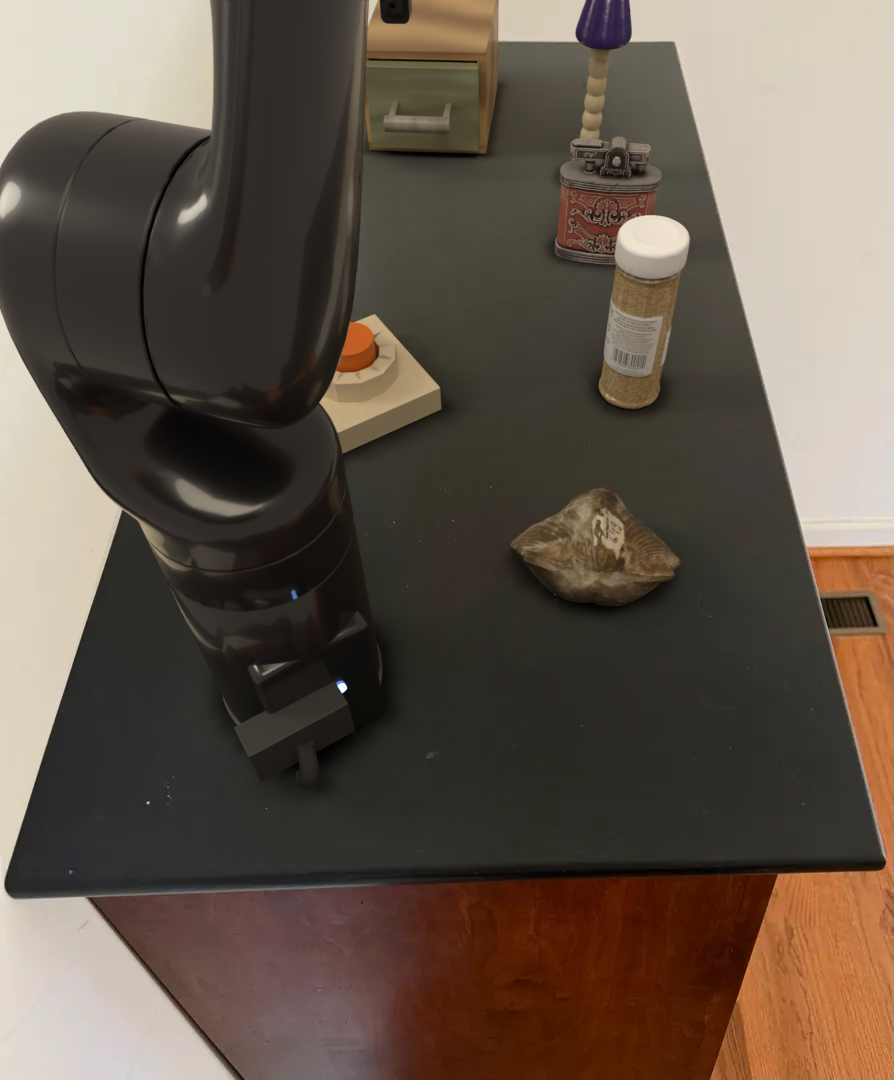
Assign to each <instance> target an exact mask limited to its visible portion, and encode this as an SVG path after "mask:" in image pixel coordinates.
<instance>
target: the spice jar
mask: <svg viewBox="0 0 894 1080" xmlns="http://www.w3.org/2000/svg"><path fill="white" fill-rule="evenodd" d="M690 241H691V238H690V234H689V231H688V229H687V228H686V227H685V226H684V225H683V224H682V223H680V221H679V222H678V221H677V220H675V219H673V218H671V217H668V216H663V215H654V214H653V215H646V216H639V217H636V218H633V219H631V220H629V221H627V222H626V223H624V224H623V225H622V226H621V228H620V230H619V232H618V235H617V242H616V249H615V263H616V264H615V270H614V277H613V286H612V291H611V295H610V300H609V301H610V302H609V310H608V318H607V323H606V333H605V338H604V347H603V348H604V349H603V361H602V362H603V363H602V370H601V376H600V378H599V383H598V390H599V393H600V394H601V396H602V398H604V400H605V401H606V402H607V403H609V404H611V405H612V406H615V407H619V408H622V409H629V410H638V409H642V408H645V407H647V406H650V405H651V404H653V403H654V402H655V401H656V400H657V398H658V396H659V394H660V391H661V377H662V373H663V367H664V363H665V361H666V359H667V358H666V357H667V353H668V348H669V342H670V337H671V331H672V322H673V316H674V311H675V307H676V302H677V301H676V300H677V295H678V292H679V285H680V280H681V273H682V271H683V269H684V268H685V266H686V264H687V259H688V254H689V248H690V243H691V242H690Z"/></svg>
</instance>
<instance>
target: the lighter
mask: <svg viewBox="0 0 894 1080" xmlns="http://www.w3.org/2000/svg"><path fill="white" fill-rule="evenodd" d="M569 153H570V154H569V158H570V159H573V160H577V161H569V160H568V161H566V162H564V163H563V164H562V165H561V166H560V168H559V181H560V182H561V183H560V197H559V200H560V201H559V209H558V210H559V213H558V226H557V236H556V238H555V241H554V252H555V254H556V255H557V256H558V257H559V258H561V259H566V260H571V261H575V262H581V263H588V264H598V265H616V263H615V249H616V242H617V235H618V232H619V230H620V228H621V226H622V225H623V224H624V223H626V222H627V221H629V220H631V219H633V218H636V217H639V216H646V215H654V213H655V206H656V200H657V194H658V189H659V188H660V186H661V183H662V177H663V173H662V171H661V170H660V169H659V168H658V167H656V166H654V165H650V164H648V163H649V160H650V153H651V146H650V145H649V144H648V143H647V144H645V143H633V142H631V143H630V142H629V141H628V139H627V138H626V137H624V136H614V137H612V139H611V140H610V141H603V139H598V140H593V139H580V138H574V140H573V141H571V143H570V151H569Z"/></svg>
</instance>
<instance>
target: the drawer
mask: <svg viewBox="0 0 894 1080" xmlns="http://www.w3.org/2000/svg"><path fill="white" fill-rule="evenodd" d="M366 91H367V100H368V110H369V120H370V129H371V139H372V147H373V148H393V149H425V150H456V151H479V146H480V108H479V63H477V61H459V60H413V59H377V61H368V60H367V61H366Z"/></svg>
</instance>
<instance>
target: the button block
mask: <svg viewBox="0 0 894 1080" xmlns="http://www.w3.org/2000/svg"><path fill="white" fill-rule="evenodd" d="M355 322H356V323H360V324H363V325H365V326H367V327H368V328H370V329H371V331H372V332H373V335H374V343H375V351H376V358H375V361H374V363H373V364H372V365H371V366H370V367H368V368H365V369H363V370H360V371H358V372H346V373H341V372H338V371H336V373H335V375H334V378H333V380H332V382H331V385H330V387H329V389H328V391H327V392H326V394H325V395H324V397H323V398H322V400H321V401H320V402H319V403H320V404H321V405H322V406H323V407H324V409H325V410H326V411H327V413H328V414H329V416H330V418H331V419H332V421H333V423H334V425H335V428H336V430H337V433H338V436H339V440H340V444H341V448H342V453H343V454H346V453H347V452H349V451H352V450H354V449H356V448H358V447H361V446H363V445H365V444H367V443H370V442H373V441H374V440H376V439H379V438H381V437H383V436H385V435H387V434H390V433H392V432H394V431H397V430H399V429H401V428H403V427H405V426H407V425H410V424H413V423H414V422H416V421H418V420H421V419H423V418H426V417H428V416H430V415H432V414H435V413H436V412H438V411H441V410H442V398H441V397H442V396H441V387H440V386H439V384H438V383H437V382H436V381H435V380H434V379H433V378H432V376H431V375H430V374H429V373H428V372H427V371H426V369H424V368H423V366H422V365H421V364H420V363H419V362H418V361H417V360H416V359H415V358H414V356H413V355H412V354H411V353H410V352H409V351H408V350H407V348H406V347H405V346H404V345H403V344H402V343H401V341H400V340H398V338H397V337H396V336H395V335H394V334H393V333H392V332H391V330H390V329H389V328H388V327H387V326H386V324H384V323H383V322H382V320H381V319H380V318H379V317H378V316H377V315H376V314H375V313H374V314H371V315H369V316H366V317H364V318H361V319H359V320H356V321H355Z"/></svg>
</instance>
